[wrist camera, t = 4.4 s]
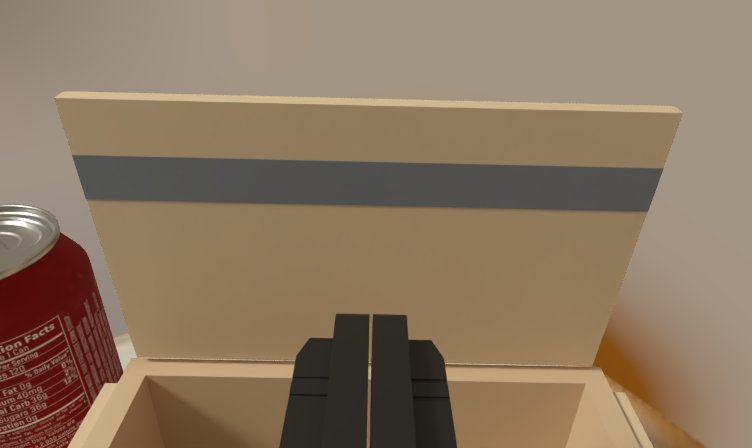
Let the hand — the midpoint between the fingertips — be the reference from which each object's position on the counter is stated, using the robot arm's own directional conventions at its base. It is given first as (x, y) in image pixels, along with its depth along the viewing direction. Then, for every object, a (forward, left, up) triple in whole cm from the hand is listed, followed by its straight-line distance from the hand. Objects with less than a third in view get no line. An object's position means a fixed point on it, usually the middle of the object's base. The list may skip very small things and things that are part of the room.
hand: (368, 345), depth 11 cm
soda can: (-11, +11, -14) cm, 21 cm away
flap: (+2, +5, -6) cm, 8 cm away
